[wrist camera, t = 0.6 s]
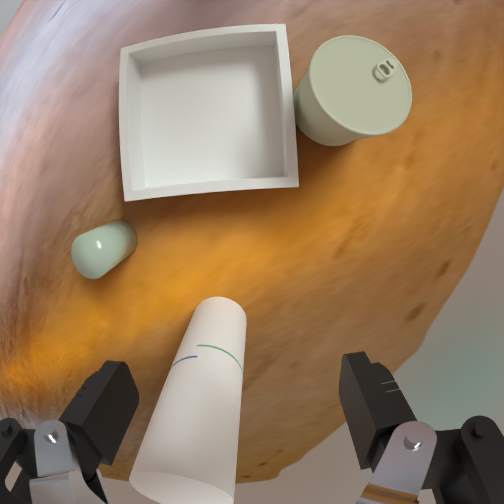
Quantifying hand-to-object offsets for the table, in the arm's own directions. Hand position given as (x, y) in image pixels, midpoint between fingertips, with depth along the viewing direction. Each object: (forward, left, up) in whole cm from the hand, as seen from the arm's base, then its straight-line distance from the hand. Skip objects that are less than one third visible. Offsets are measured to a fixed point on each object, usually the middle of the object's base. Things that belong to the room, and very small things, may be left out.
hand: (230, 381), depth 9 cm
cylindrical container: (+12, -5, -25) cm, 28 cm away
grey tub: (-14, -4, -25) cm, 29 cm away
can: (-14, +10, -25) cm, 31 cm away
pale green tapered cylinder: (0, -17, -25) cm, 30 cm away
